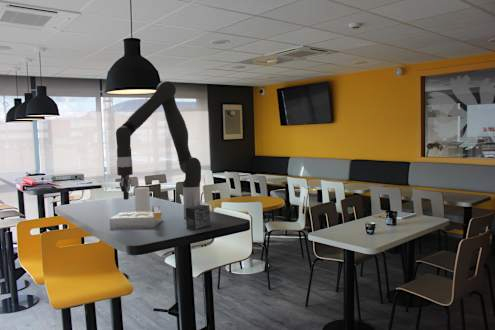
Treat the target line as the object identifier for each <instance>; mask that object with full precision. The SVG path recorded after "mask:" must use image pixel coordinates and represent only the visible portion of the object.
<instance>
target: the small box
mask: <svg viewBox="0 0 495 330" xmlns="http://www.w3.org/2000/svg"><path fill="white" fill-rule="evenodd" d="M210 208H211V207H210V205H209V204H201V205H198V206H193V207H188V208H186V219H185V221H186V223H185V224H186V230H191V231H199V230H202V229H205V228H210V227H211V213H210V212H211V211H210V210H211V209H210Z"/></svg>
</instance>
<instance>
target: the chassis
mask: <svg viewBox="0 0 495 330" xmlns="http://www.w3.org/2000/svg"><path fill="white" fill-rule="evenodd" d="M160 212H161V219H158V220H154V213H153V212H152V210H150V211H142V212H135V211H120V212H119V213H116V214H115V215H113V216H111V217H110V218H109V229H115V230H116V229H141V228H144V229H145V228H155V227H156V226H158V225H159V224H160V223H161V221H163V218H162V216H163V215H162V213H163V212H162V210H160Z"/></svg>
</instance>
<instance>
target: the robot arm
mask: <svg viewBox="0 0 495 330" xmlns="http://www.w3.org/2000/svg"><path fill="white" fill-rule="evenodd" d="M176 93H177V91H176V85H175V83H173V82H171V81H167V80H165V81H164V80H163V81H162V82H160V83H158V85H157V86H156V90H155V92H154V93H153V94H152V96H151V97H149V98H148V100H147V101H145V102H144V103H143V104H141V105H140V106H139V107H138V108H137V109H136V110H135V111H134V112H133V113H132V114H131V115H130V116H129V117H128V118H127V120H126V121H125V122H124V123H123V124H122V125H121V126H119V127H118V128H116V131H115V136H116V139H115V140H116V170H117V171H116V172H117V173H116V174H117V176H120V180H119V181H120V182H119V187H120V190H121V192H122V195H123V200H124V201H127V200H129V199H130V197H129V196H130V194H129V192H130V190H131V184H132V179H131V178H130V176H132V175H133V174H134V172H133V159H132V147H131V137H132V135H133V134H134V133H135V132H136V131H137V130H138V129H139V128H140V127H141V126H143V124H145V123H146V121H147V120H148V119H149V118H150V117H151V116H152V115H153V113H155V112H156V110H157V109H159V108H160V107H161V106H162V108H163V113H164V116H165V119H166V124H167V128H168V131H169V134H170V136H171V140H172V142H173V146H174V147H175V151H176V154H177V155H176V156H177V159H178V164H179V168H180V170H181V171H182V172H183V174H185V177H184V178H185V179H184V180H183V182H182V197H183V198H182V201H183V219H185V220H186V208H188V207H193V206H198V205H202V200H201V181H202V165H201V161H200V160H199V159H198V158H196V157H192V154H191V151H190V149H189V131H188V128H187V124H186V121H185V120H184V117H183V115H182V114H181V111H180V109H179V108H178V105H177V102H176V98H175V94H176Z"/></svg>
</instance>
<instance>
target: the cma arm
mask: <svg viewBox="0 0 495 330" xmlns="http://www.w3.org/2000/svg"><path fill="white" fill-rule="evenodd" d="M160 208H161V207H160V205H152V206H151V209H152V210H151V211H152V212H153V213H154V220H158V219H161V212H160V211H161V210H160Z"/></svg>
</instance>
